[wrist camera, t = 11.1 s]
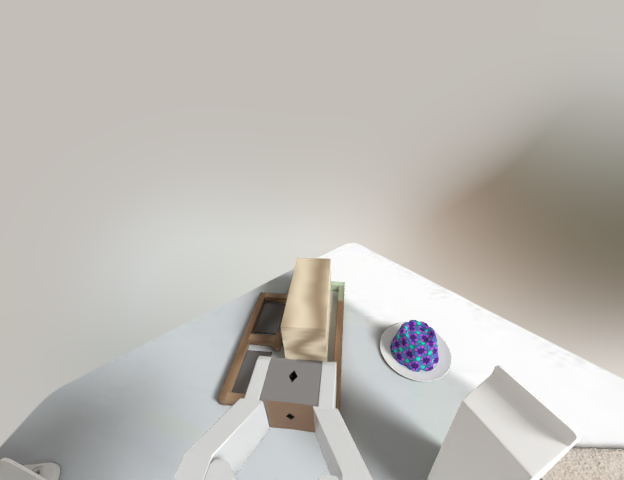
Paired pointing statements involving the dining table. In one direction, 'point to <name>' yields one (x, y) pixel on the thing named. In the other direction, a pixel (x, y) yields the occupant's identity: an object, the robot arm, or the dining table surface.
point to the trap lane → (271, 343)
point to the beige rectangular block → (308, 311)
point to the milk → (502, 435)
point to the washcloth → (588, 465)
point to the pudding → (415, 351)
